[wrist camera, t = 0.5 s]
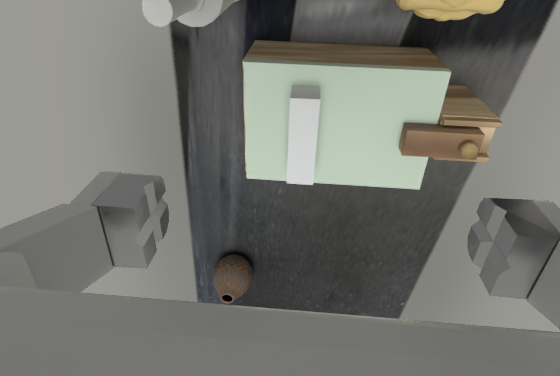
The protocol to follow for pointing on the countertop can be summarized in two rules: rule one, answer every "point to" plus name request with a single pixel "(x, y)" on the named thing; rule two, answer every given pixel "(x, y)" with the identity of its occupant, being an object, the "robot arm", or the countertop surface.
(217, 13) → the bottle
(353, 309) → the countertop surface
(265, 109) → the lid
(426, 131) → the wooden knobbed block
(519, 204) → the robot arm
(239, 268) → the vase
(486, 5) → the sculpture
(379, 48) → the toolbox
